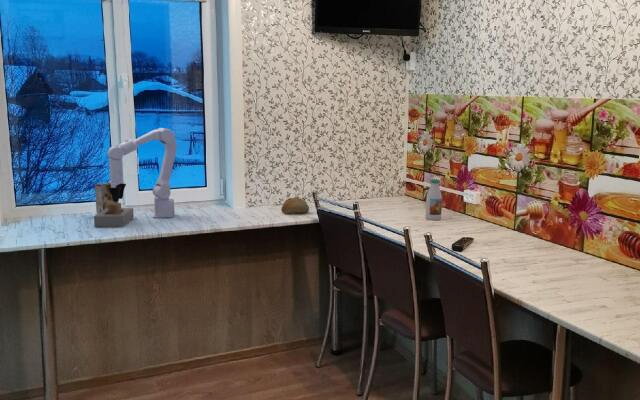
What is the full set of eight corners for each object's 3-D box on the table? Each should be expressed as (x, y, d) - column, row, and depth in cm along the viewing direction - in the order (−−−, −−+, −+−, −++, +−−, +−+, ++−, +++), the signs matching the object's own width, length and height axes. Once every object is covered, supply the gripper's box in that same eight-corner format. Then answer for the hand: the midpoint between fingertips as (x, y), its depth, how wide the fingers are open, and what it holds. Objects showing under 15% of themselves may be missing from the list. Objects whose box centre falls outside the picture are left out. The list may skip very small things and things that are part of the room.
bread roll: (278, 212, 305) (278, 197, 304) (305, 210, 311) (305, 195, 309) (284, 216, 297) (284, 200, 295) (311, 214, 302) (311, 198, 301)
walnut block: (122, 221, 281) (121, 202, 280) (119, 223, 277) (118, 204, 275) (111, 221, 281) (110, 202, 279) (108, 223, 276) (107, 204, 275)
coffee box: (112, 212, 300) (110, 182, 297) (119, 214, 297) (117, 183, 294) (96, 215, 293) (94, 184, 290) (103, 217, 289) (101, 185, 286)
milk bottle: (423, 219, 291) (425, 180, 287) (428, 216, 297) (429, 178, 294) (438, 221, 287) (440, 181, 283) (442, 218, 294) (444, 179, 290)
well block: (133, 217, 289) (133, 207, 288) (123, 226, 269) (122, 216, 269) (106, 217, 288) (106, 208, 287) (94, 227, 268) (93, 216, 268)
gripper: (111, 170, 284) (113, 197, 286) (103, 174, 270) (105, 203, 272) (126, 170, 284) (128, 197, 287) (119, 174, 270) (120, 202, 273)
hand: (118, 200), depth 280 cm, fingers open, 7 cm apart
